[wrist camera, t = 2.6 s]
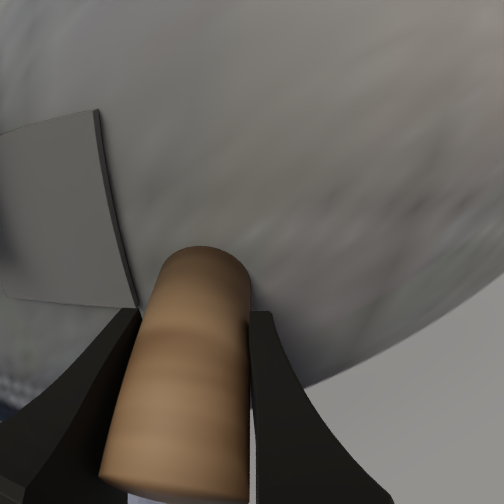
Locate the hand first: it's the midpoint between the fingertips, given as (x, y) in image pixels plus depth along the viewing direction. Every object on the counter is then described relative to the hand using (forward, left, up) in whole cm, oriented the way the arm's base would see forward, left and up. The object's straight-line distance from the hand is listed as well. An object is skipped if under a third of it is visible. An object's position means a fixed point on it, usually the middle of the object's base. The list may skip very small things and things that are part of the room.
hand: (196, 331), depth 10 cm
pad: (+3, +7, -2) cm, 8 cm away
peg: (0, 0, -2) cm, 2 cm away
